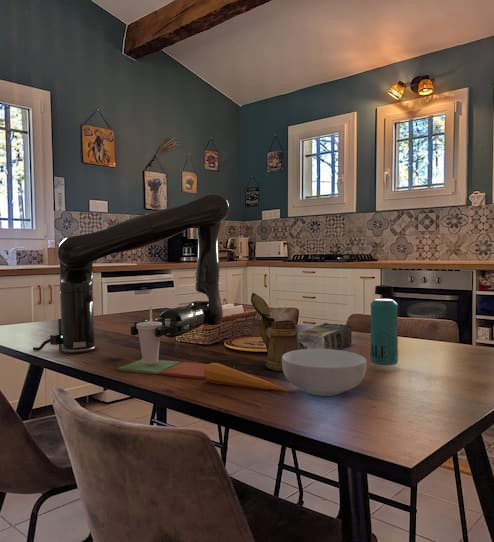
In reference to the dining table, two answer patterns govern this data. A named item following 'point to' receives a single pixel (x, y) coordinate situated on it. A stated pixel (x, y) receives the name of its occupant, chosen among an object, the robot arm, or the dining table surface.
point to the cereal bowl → (324, 370)
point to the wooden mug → (275, 334)
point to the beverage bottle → (384, 328)
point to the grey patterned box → (326, 337)
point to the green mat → (149, 366)
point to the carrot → (236, 378)
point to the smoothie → (149, 340)
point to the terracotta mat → (187, 370)
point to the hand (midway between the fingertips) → (144, 331)
